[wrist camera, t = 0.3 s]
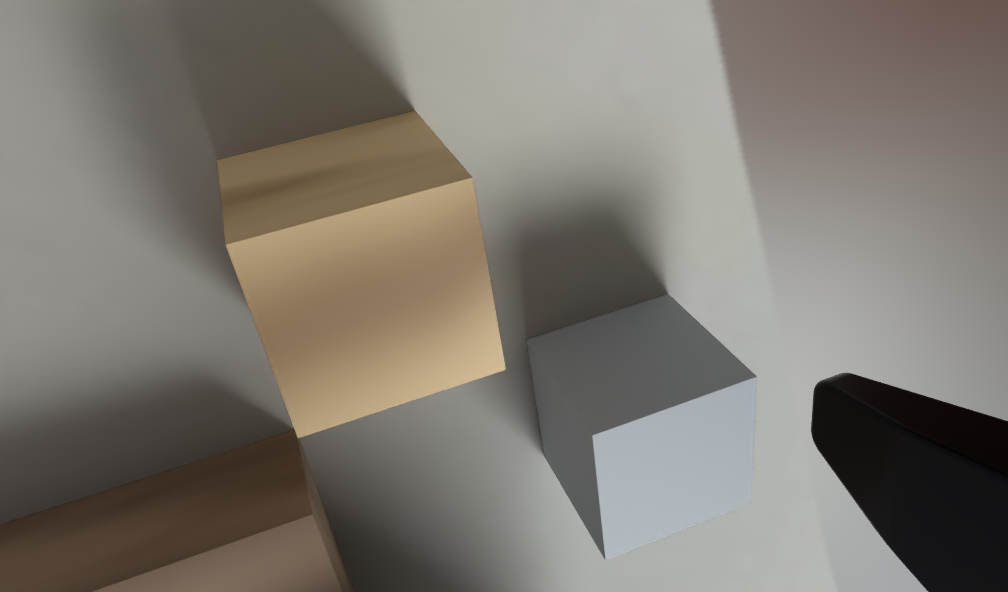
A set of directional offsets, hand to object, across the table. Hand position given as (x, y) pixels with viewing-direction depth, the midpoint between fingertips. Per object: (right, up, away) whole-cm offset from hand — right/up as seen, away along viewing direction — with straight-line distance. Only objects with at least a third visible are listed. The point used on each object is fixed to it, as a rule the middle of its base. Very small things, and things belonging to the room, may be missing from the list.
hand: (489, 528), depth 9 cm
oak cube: (-4, +5, +12) cm, 13 cm away
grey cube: (+4, 0, +18) cm, 18 cm away
